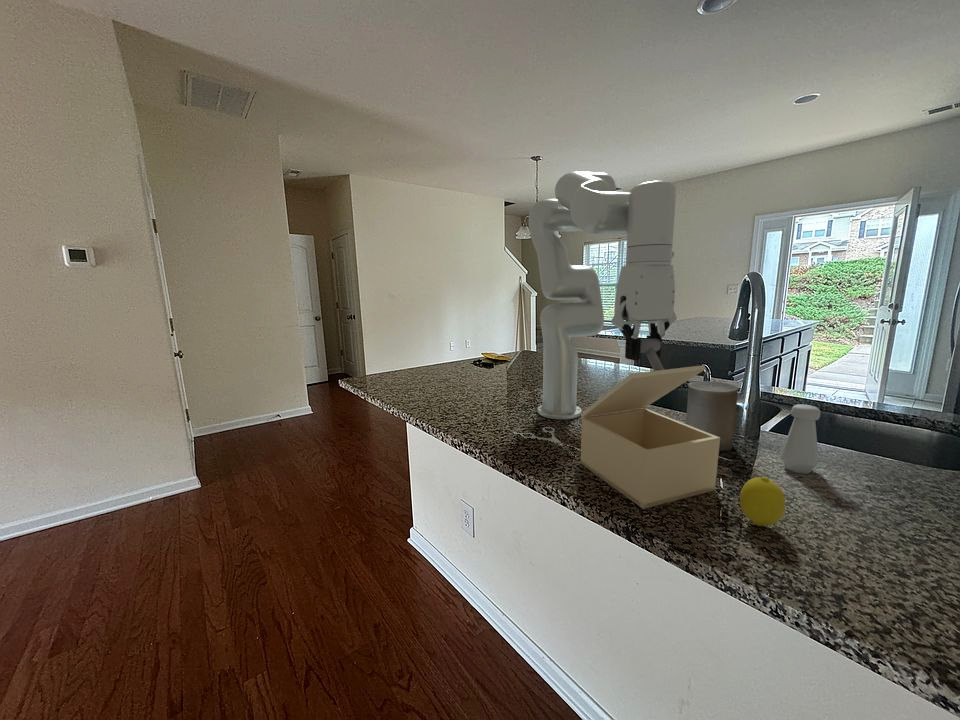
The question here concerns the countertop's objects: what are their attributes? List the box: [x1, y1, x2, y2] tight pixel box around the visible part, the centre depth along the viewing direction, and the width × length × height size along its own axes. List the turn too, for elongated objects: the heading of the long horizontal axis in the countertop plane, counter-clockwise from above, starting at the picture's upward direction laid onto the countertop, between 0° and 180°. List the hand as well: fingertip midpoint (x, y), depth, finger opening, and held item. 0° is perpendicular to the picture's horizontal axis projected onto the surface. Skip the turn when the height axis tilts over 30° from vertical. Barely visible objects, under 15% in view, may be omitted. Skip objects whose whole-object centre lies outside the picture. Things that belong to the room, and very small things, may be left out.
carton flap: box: [580, 338, 706, 418], centre depth 76 cm, size 18×16×8 cm
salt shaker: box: [780, 403, 821, 475], centre depth 76 cm, size 6×6×13 cm
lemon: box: [739, 476, 786, 527], centre depth 59 cm, size 6×6×8 cm
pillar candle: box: [685, 380, 739, 452], centre depth 89 cm, size 10×10×15 cm
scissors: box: [512, 426, 581, 458], centre depth 93 cm, size 11×1×20 cm
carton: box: [580, 407, 720, 510], centre depth 74 cm, size 18×16×10 cm
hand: (642, 357), depth 73 cm, fingers closed on carton flap, 4 cm apart
